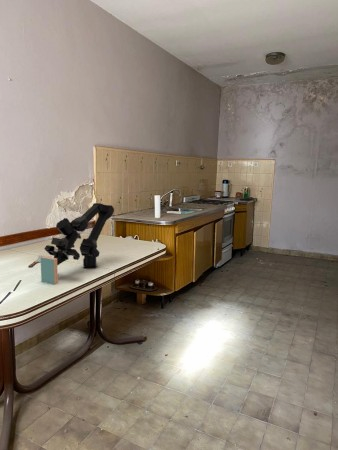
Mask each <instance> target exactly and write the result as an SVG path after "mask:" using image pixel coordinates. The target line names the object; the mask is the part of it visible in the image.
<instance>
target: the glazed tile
mask: <svg viewBox="0 0 338 450" xmlns="http://www.w3.org/2000/svg"><path fill="white" fill-rule="evenodd" d="M42 256H43V257H41V263H40V275H41V277H40V279H41V282H42V283H45V282H46V284H51V285H57V284H59V277H58V276H59V273H58V266H57V258H54V257H53V256H52V257H46V256H47V255H42Z"/></svg>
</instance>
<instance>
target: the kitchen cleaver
mask: <svg viewBox="0 0 338 450" xmlns="http://www.w3.org/2000/svg"><path fill="white" fill-rule="evenodd" d="M43 256H44V255H42V254H41V255H38V256H37V257H38V258H37V259H35V260H34V261H33V262H32V263H30V264H29V265H28V268H30V269H31V268H34V266H36V265H37V264H41V257H43ZM45 256H46V257H52V258H53V255H45Z"/></svg>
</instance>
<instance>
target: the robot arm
mask: <svg viewBox="0 0 338 450" xmlns="http://www.w3.org/2000/svg"><path fill="white" fill-rule="evenodd" d="M114 212H115V208H114V206H113V205H111V204H103V203H100V202H95V203H93V204H92V206H90V207H89V208H88V210H86V211H85V212H84V213H83V214H82V215H80V216H77V217H75V218H74V219H72V220H71V222H70V220H69V219H68V218H67V217H63V219H61V220H59V221H58V222H57V223H56V225H55V226H56V228H57V230H58V231H59V232H60V233H61V234H62V235H63V236H64V237H61V238H59V237H52V239H51V242H50V244H51V245H50V244H49V245H45V247H44V251H46V253H48V254H49V256H52V257H53V258H57V267H58V266H59V265H61V264H62V263H64V262H66V261H68V260H69V257H71V256H72V258H73V260H77V261H79V259H80V257H81V256H82V257H83V259H82V265H83V266H82V267H83V269H96V268H97V266H98V264H97V258H99V256H100V251H99V250H98V249H97V248H98V239H99V237H100V235H101V233H102V231H103V228H104V227H105V224H106V222H107V221H108V220H109V219H110V218H111V217H112V216H113V215H114ZM96 215H98V216H97V219H96V220H95V224H93V227H92V229H91V230H90V234H89V235H88V237H87V238H83V239H82V236H81V233H79V232H84V231H86V229H87V228H88V226H89V223H90V222H91V220H92V219H93V218H94V217H95V216H96ZM77 239H80V240H81V239H82V241H81V243H80V244H79V245H80V247H79V250H80V251H77V249H75V243H76V242H77ZM54 245H55V246H54ZM79 252H80V253H79Z"/></svg>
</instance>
